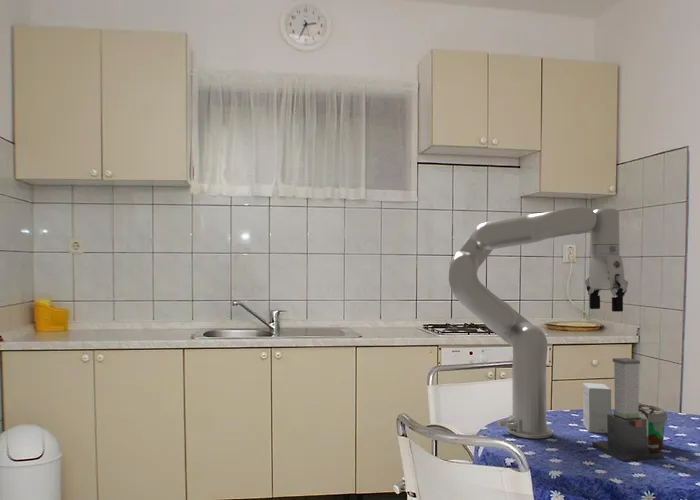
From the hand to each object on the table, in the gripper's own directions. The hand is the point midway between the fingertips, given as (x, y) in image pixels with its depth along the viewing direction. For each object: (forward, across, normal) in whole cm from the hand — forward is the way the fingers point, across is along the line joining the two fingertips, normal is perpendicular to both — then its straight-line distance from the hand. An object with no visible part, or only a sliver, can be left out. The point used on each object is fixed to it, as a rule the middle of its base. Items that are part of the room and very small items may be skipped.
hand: (605, 310), depth 163 cm
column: (+29, -13, +4) cm, 32 cm away
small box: (+37, +7, -2) cm, 37 cm away
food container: (+36, -10, -7) cm, 39 cm away
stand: (+36, -13, +4) cm, 39 cm away
